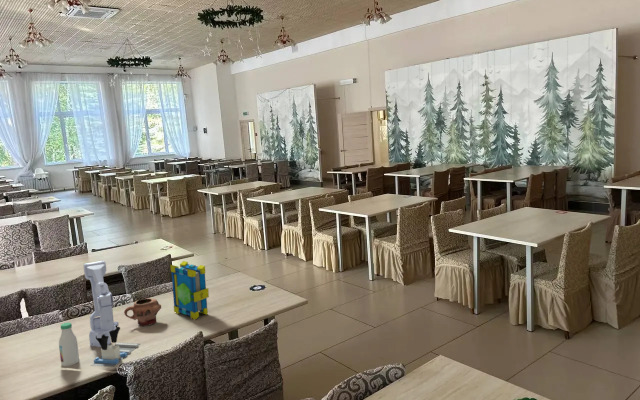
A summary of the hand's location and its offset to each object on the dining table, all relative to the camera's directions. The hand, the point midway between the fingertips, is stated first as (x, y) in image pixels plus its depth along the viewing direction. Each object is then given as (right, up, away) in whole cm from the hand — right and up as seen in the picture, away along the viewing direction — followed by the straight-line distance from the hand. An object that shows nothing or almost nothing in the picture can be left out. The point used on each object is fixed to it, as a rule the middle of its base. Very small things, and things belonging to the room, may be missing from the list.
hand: (109, 345), depth 230 cm
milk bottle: (-18, -9, -1) cm, 20 cm away
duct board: (+1, -7, +6) cm, 9 cm away
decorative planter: (+1, -1, +44) cm, 44 cm away
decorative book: (+23, +2, +58) cm, 63 cm away
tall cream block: (0, -7, +1) cm, 7 cm away
